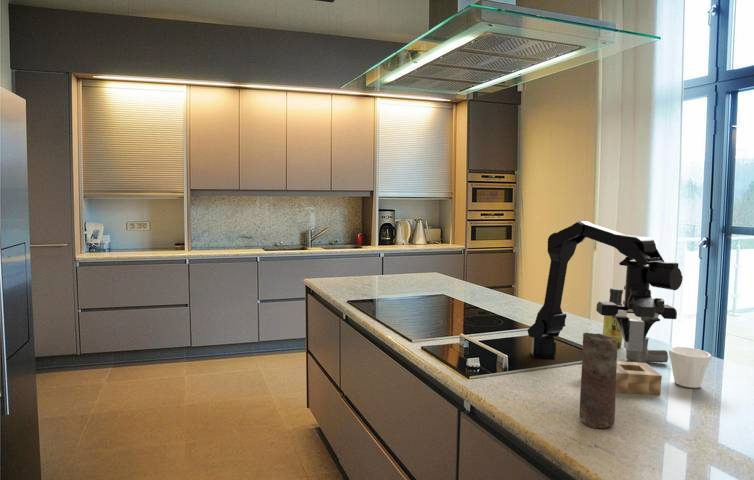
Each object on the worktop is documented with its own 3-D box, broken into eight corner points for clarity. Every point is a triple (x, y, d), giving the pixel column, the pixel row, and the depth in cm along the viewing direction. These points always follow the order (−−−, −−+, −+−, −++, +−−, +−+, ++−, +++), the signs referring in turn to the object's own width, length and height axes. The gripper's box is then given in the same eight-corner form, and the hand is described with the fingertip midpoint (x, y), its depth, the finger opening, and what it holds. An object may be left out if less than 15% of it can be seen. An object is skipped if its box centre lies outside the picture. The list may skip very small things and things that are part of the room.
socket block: (615, 391, 141) (616, 372, 140) (603, 377, 152) (604, 360, 151) (660, 394, 140) (661, 375, 139) (644, 380, 150) (646, 362, 150)
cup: (703, 381, 151) (706, 349, 150) (713, 393, 141) (715, 359, 141) (663, 377, 154) (666, 345, 153) (670, 388, 145) (672, 354, 144)
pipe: (669, 367, 164) (671, 341, 163) (623, 363, 166) (625, 337, 166) (663, 361, 170) (664, 336, 169) (619, 357, 172) (620, 333, 171)
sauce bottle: (612, 349, 181) (615, 290, 180) (597, 344, 187) (601, 287, 185) (626, 347, 184) (630, 289, 182) (611, 343, 189) (615, 286, 188)
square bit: (628, 350, 143) (630, 321, 143) (623, 347, 147) (625, 318, 146) (642, 351, 143) (644, 321, 142) (637, 347, 146) (639, 318, 146)
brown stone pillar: (572, 415, 124) (577, 330, 123) (603, 415, 125) (608, 330, 123) (588, 430, 117) (593, 339, 115) (621, 429, 117) (626, 339, 116)
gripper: (609, 287, 137) (605, 348, 138) (688, 291, 134) (683, 352, 136) (597, 280, 148) (594, 336, 149) (670, 283, 145) (665, 340, 147)
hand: (633, 341), depth 145 cm, fingers closed on square bit, 4 cm apart
